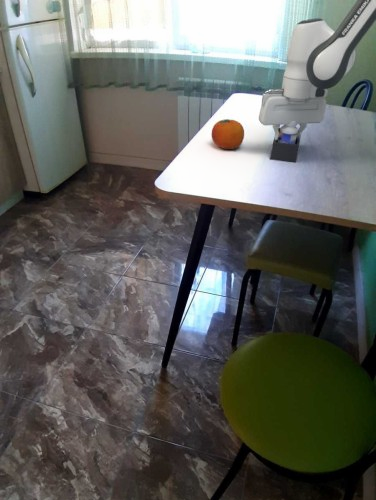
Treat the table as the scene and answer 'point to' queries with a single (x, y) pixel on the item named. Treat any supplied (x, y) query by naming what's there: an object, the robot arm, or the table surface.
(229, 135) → the fruit
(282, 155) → the open box
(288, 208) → the table surface
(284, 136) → the pill bottle
